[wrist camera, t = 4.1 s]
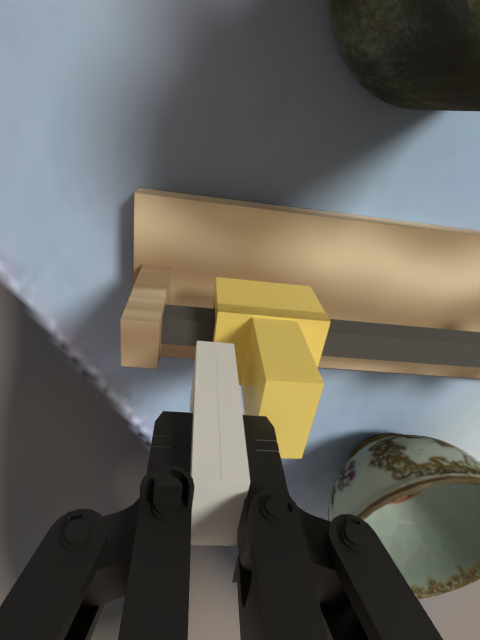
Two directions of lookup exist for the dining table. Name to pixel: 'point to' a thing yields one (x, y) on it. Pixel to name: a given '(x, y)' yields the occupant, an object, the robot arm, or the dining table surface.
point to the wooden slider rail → (298, 270)
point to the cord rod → (346, 339)
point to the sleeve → (275, 352)
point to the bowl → (417, 507)
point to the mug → (413, 50)
